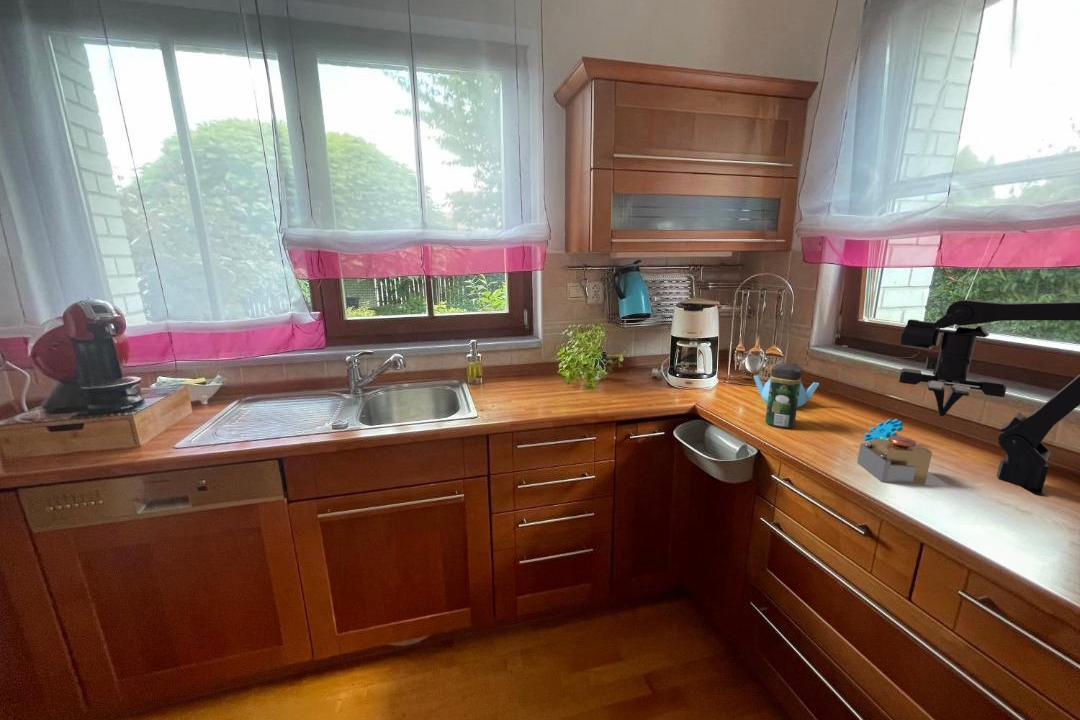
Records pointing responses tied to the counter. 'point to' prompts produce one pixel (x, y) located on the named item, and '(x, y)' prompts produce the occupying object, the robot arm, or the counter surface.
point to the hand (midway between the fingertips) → (941, 415)
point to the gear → (884, 430)
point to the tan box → (905, 454)
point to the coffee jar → (783, 395)
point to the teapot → (803, 394)
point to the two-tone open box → (891, 469)
